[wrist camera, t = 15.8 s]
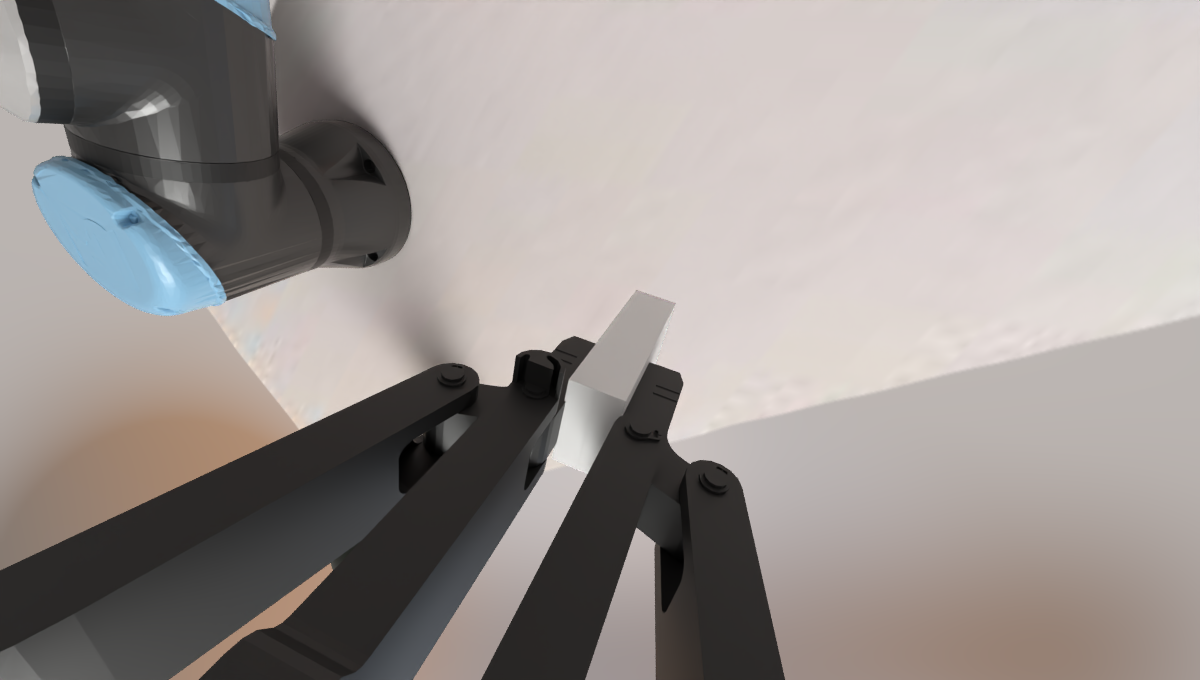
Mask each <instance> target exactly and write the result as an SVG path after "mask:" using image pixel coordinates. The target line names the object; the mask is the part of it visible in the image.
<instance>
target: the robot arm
mask: <svg viewBox="0 0 1200 680" xmlns="http://www.w3.org/2000/svg"><path fill="white" fill-rule="evenodd" d="M274 40H276V34H275V32H274V30H273V29H272V23H271V14H270V4H269V0H0V107H1V108H3V109H4V110H6V111H8V112H9V113H11V114H13V115H14V116H16V117H18V118H19V119H21V120H23V121H28V122H34V123H54V124H64V128H65V132H66V135H67V139H68V142H69V146H70V149H71V155H72V156H71V157H65V156H55V157H52V158H51V159H50V160H48V161H45V162H42V163H40V164H39V165H37V166H36V168H35V170H34V175H35V176H34V177H33V179H32V188H33V193H34V196H35V198H36V202H37V204H38V206H39V209H40V211H41V213H42V214H43V216H44V218H45V220H46V222H47V223H48V225H49V227H50V228H51V230H52V231H53V233H54V234H55V236H56V237H57V239H58V240H59V242H60V243H61V244H62V245H63V247H64V248H65V249H66V251H67V252H68V253H69V254H70V255H71V257H72V258H73V259H74V260H75V261H76V262H77V263H78V264H79V265H80V266H81V267H82V268H83V269H84V270H85V271H86V272H87V274H88V275H90V276H91V277H92V278H93V279H94V280H95V281H96V282H97V283H98V284H99V285H101V286H102V287H103V288H104V289H106V290H107V291H108V292H110V293H111V294H112V295H114V296H115V297H117V298H119V299H120V300H121V301H123V302H125V303H126V304H128V305H130V306H132V307H134V308H136V309H139V310H141V311H144V312H147V313H151V314H155V315H163V316H171V315H179V314H183V313H186V312H189V311H193V310H197V309H200V308H205V307H208V306H218V305H221V304H222V303H225V301H227V300H230V299H233V298H236V297H238V296H241V295H244V294H246V293H249V292H252V291H255V290H257V289H260V288H263V287H265V286H268V285H271V284H274V283H276V282H279V281H282V280H285V279H287V278H290V277H293V276H296V275H298V274H301V273H304V272H306V271H309V270H312V269H315V268H318V267H319V268H365V267H370V266H374V265H376V264H379V263H382V262H384V261H387V260H389V259H391V258H392V257H394V256H395V255H396V254H397V253H398V252H399V251H400V250H401V249H402V247H403V246H404V244H405V242H406V240H407V237H408V234H409V230H410V224H411V206H410V199H409V195H408V191H407V187H406V184H405V182H404V179H403V177H402V174H401V172H400V170H399V168H398V166H397V165H396V163H395V161H394V160H393V158H392V157H391V155H390V154H389V153H388V151H387V150H386V149H385V148H384V146H383V145H382V144H381V143H380V142H379V141H378V140H377V139H376V138H374V137H373V136H372V135H371V134H370V133H368V132H367V131H365V130H364V129H362V128H360V127H358V126H356V125H354V124H352V123H349V122H345V121H339V120H327V121H313V122H309V123H305V124H303V125H300V126H298V127H297V128H295V129H293V130H291V131H289V132H287V133H285V134H283V135H281V136H279V134H278V114H277V94H276V73H275V53H274ZM675 304H676V303H673V302H670V301H667V300H664V299H661V298H658V297H655V296H652V295H650V294H647V293H644V292H641V291H638V290H636V291H635V293H634V294H633V295H632V297H631V298H630V299H629V301H628V302H627V303H626V305H625V306H624V307H623V309H622V310H621V311H620V313H619V314H618V315H617V317H616V318H615V319H614V321H613V322H612V323H611V324H610V326H609V327H608V328H607V330H606V331H605V332H604V334H603V335H602V336H601V338H600V339H599V340H598V342H597V343H596V344H595V343H592V342H590V341H587V340H584V339H581V338H579V337H576V336H574V337H571V338H568V339H566V340H563V341H562V342H561V343H560V344H559V345H558V346H557V347H556V349H555V350H554V351H553V352H552V353H550V352H546V351H542V350H529V351H524V352H521V353H520V354H518V355H516V359H515V366H514V373H513V380H512V383H511V384H510V385H509V386H508V387H498V386H490V385H484V384H479V377H478V374H477V373H476V372H475V371H474V370H473V369H472V368H470V367H468V366H465V365H462V364H456V363H448V364H441V365H438V366H435V367H432V368H430V369H428V370H426V371H424V372H422V373H420V374H418V375H415V376H413V377H411V378H409V379H407V380H405V381H403V382H400V383H398V384H396V385H394V386H392V387H390V388H388V389H386V390H383V391H381V392H379V393H377V394H375V395H373V396H371V397H369V398H366V399H364V400H362V401H360V402H358V403H356V404H354V405H352V406H349V407H347V408H345V409H343V410H341V411H339V412H337V413H335V414H332V415H330V416H328V417H326V418H324V419H322V420H320V421H318V422H315V423H313V424H311V425H309V426H307V427H305V428H303V429H300V430H298V431H296V432H294V433H292V434H290V435H288V436H286V437H283V438H281V439H279V440H277V441H275V442H273V443H271V444H269V445H266V446H264V447H262V448H260V449H258V450H256V451H254V452H252V453H250V454H247V455H245V456H243V457H241V458H239V459H237V460H235V461H233V462H230V463H228V464H226V465H224V466H222V467H220V468H218V469H215V470H213V471H211V472H209V473H207V474H205V475H203V476H200V477H198V478H196V479H194V480H192V481H190V482H188V483H186V484H184V485H181V486H180V487H177V488H175V489H173V490H171V491H169V492H166V493H164V494H162V495H160V496H158V497H156V498H154V499H152V500H149V501H147V502H145V503H143V504H141V505H139V506H137V507H135V508H132V509H130V510H128V511H126V512H124V513H122V514H120V515H117V516H116V517H113V518H111V519H109V520H107V521H105V522H103V523H101V524H98V525H96V526H94V527H92V528H90V529H88V530H86V531H84V532H81V533H79V534H77V535H75V536H73V537H71V538H69V539H66V540H64V541H62V542H60V543H58V544H56V545H54V546H52V547H49V548H47V549H45V550H43V551H41V552H39V553H37V554H35V555H32V556H30V557H28V558H26V559H24V560H22V561H20V562H18V563H15V564H13V565H11V566H9V567H7V568H5V569H3V570H0V680H169V679H170V678H172V677H173V676H174V675H176V674H177V673H179V672H180V671H181V670H183V669H184V668H186V667H187V666H188V665H190V664H191V663H192V662H194V661H195V660H197V659H198V658H199V657H201V656H202V655H203V654H205V653H206V652H208V651H209V650H210V649H212V648H213V647H215V646H216V645H217V644H219V643H220V642H222V641H223V640H224V639H226V638H227V637H228V636H230V635H231V634H233V633H234V632H235V631H237V630H238V629H239V628H241V627H242V626H244V625H245V624H247V623H248V622H249V621H250V620H252V619H253V618H255V617H256V616H258V615H259V614H260V613H262V612H263V611H265V610H266V609H267V608H269V607H270V606H271V605H273V604H274V603H276V602H277V601H278V600H280V599H281V598H282V597H284V596H285V595H286V594H288V593H289V592H291V591H292V590H294V589H295V588H296V587H298V586H299V585H301V584H302V583H303V582H305V581H306V580H307V579H309V578H310V577H312V576H313V575H314V574H316V573H317V572H318V571H320V570H321V569H323V568H324V567H325V566H327V565H328V564H330V563H331V562H332V561H334V560H335V559H337V558H338V557H339V556H341V555H342V554H343V553H345V552H346V551H348V550H349V549H350V548H352V547H353V546H355V545H356V544H357V543H359V542H360V541H361V540H362V541H361V542H360V543H359V544H358V545H357V546H356V547H355V548H354V549H353V550H352V551H351V552H350V553H349V554H348V555H347V556H346V558H345V559H344V560H343V561H342V562H341V563H340V564H339V565H338V566H337V567H336V568H335V569H334V570H333V571H332V572H331V573H330V574H329V576H328V577H327V578H326V579H325V580H324V581H323V582H322V583H321V584H320V585H319V586H318V587H317V588H316V589H315V590H314V591H313V592H312V593H311V594H310V595H309V597H308V598H307V599H306V600H305V601H304V602H303V603H302V604H301V605H300V606H299V607H298V608H297V609H296V610H295V611H294V612H293V613H292V615H290V616H289V617H288V618H287V619H286V620H285V621H284V622H283V623H281V624H279V625H278V626H276V627H274V628H268V629H261V630H256V631H255V632H253V633H251V634H249V635H248V636H246V637H244V638H242V639H241V640H240V641H239V642H238V643H237V644H236V645H234V646H233V647H232V648H231V649H230V650H228V651H227V652H226V653H225V654H224V655H223V656H222V657H221V658H220V659H219V660H218V661H217V662H216V663H215V664H214V665H213V666H212V667H211V668H210V669H209V670H208V671H207V672H206V673H205V674H204V675H203V676H202V677H201V678H200V679H199V680H413V678H414V677H415V675H416V674H417V672H418V671H419V669H420V667H421V665H422V664H423V662H424V661H425V659H426V658H427V656H428V655H429V653H430V651H431V650H432V648H433V647H434V645H435V644H436V642H437V640H438V639H439V637H440V636H441V634H442V632H443V631H444V629H445V628H446V626H447V624H448V623H449V621H450V619H451V618H452V616H453V615H454V613H455V612H456V610H457V608H458V607H459V605H460V604H461V602H462V600H463V599H464V598H465V596H466V594H467V593H468V591H469V590H470V588H471V586H472V584H473V583H474V582H475V580H476V578H477V577H478V575H479V574H480V572H481V571H482V569H483V567H484V566H485V564H486V562H487V561H488V559H489V558H490V556H491V555H492V553H493V551H494V550H495V548H496V547H497V545H498V544H499V542H500V540H501V539H502V537H503V535H504V534H505V532H506V531H507V529H508V528H509V526H510V525H511V523H512V521H513V520H514V518H515V516H516V515H517V513H518V512H519V510H520V509H521V507H522V505H523V504H524V502H525V500H526V499H527V498H528V496H529V494H530V493H531V491H532V490H533V488H534V486H535V485H536V483H537V482H538V480H539V478H540V477H541V475H542V474H543V472H544V469H545V465H546V461H547V457H548V455H549V454H550V452H551V451H552V449H553V448H554V450H553V455H552V460H555V461H557V462H559V463H562V464H564V465H567V466H569V467H572V468H574V469H576V470H579V471H581V472H583V473H586V474H587V476H586V478H585V480H584V482H583V484H582V486H581V488H580V490H579V492H578V493H577V495H576V497H575V499H574V501H573V503H572V505H571V507H570V509H569V511H568V513H567V515H566V517H565V519H564V521H563V523H562V525H561V527H560V528H559V530H558V533H557V534H556V536H555V538H554V540H553V542H552V544H551V546H550V548H549V550H548V552H547V554H546V555H545V557H544V559H543V561H542V563H541V565H540V567H539V569H538V571H537V573H536V575H535V577H534V579H533V581H532V582H531V584H530V586H529V588H528V590H527V592H526V594H525V596H524V598H523V600H522V602H521V604H520V606H519V608H518V610H517V611H516V614H515V615H514V617H513V619H512V621H511V623H510V625H509V627H508V629H507V631H506V633H505V635H504V637H503V639H502V641H501V642H500V644H499V646H498V648H497V650H496V652H495V654H494V656H493V658H492V660H491V662H490V664H489V666H488V668H487V670H486V671H485V674H484V675H483V677H482V679H481V680H585V678H586V675H587V672H588V669H589V666H590V663H591V660H592V657H593V654H594V651H595V648H596V645H597V642H598V639H599V636H600V633H601V630H602V627H603V624H604V622H605V618H606V616H607V612H608V610H609V607H610V603H611V601H612V598H613V595H614V592H615V589H616V586H617V583H618V580H619V577H620V574H621V570H622V568H623V565H624V562H625V559H626V556H627V553H628V550H629V547H630V544H631V541H632V538H633V535H634V532H635V529H636V527H637V528H638V529H639V530H641V531H642V532H643V533H644V534H646V535H647V536H648V537H649V538H651V539H652V540H653V541H654V542H656V544H655V635H656V637H655V642H656V680H785V677H784V673H783V668H782V664H781V659H780V655H779V651H778V646H777V641H776V638H775V632H774V628H773V624H772V619H771V615H770V610H769V606H768V601H767V597H766V592H765V588H764V584H763V579H762V574H761V570H760V566H759V561H758V556H757V552H756V547H755V543H754V539H753V534H752V530H751V525H750V521H749V516H748V512H747V507H746V503H745V498H744V494H743V489H742V487H741V484H740V482H739V480H738V478H737V477H736V476H735V475H734V474H733V473H732V472H731V471H730V470H728V469H727V468H725V467H724V466H722V465H721V464H718V463H715V462H712V461H706V460H699V461H696V462H693V463H691V464H689V463H687V462H686V461H684V460H683V459H682V458H681V457H679V456H678V455H677V454H676V453H675V452H674V451H673V450H672V448H671V447H670V445H669V443H668V439H667V433H668V429H669V426H670V423H671V420H672V417H673V414H674V411H675V408H676V405H677V402H678V399H679V396H680V393H681V390H682V387H683V381H682V378H681V375H680V373H678V372H676V371H673V370H670V369H667V368H665V367H662V366H659V365H656V362H657V359H658V356H659V353H660V350H661V347H662V344H663V341H664V338H665V335H666V332H667V329H668V326H669V323H670V320H671V317H672V313H673V310H674V307H675ZM422 434H423V435H422ZM420 435H421V436H420Z"/></svg>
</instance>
